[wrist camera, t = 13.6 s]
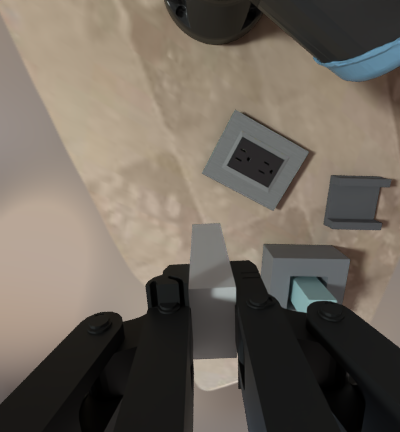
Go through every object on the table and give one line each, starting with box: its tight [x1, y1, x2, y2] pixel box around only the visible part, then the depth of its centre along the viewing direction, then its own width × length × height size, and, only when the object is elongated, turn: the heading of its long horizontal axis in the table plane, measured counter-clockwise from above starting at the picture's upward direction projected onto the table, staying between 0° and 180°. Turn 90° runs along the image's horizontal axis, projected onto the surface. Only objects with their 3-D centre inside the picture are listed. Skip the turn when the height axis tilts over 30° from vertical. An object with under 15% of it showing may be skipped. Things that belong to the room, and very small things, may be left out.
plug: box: [288, 276, 337, 313], centre depth 44 cm, size 4×4×10 cm
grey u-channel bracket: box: [324, 175, 391, 230], centre depth 45 cm, size 8×8×3 cm
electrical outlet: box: [202, 110, 309, 211], centre depth 44 cm, size 13×10×2 cm
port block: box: [261, 244, 350, 311], centre depth 47 cm, size 12×12×6 cm
